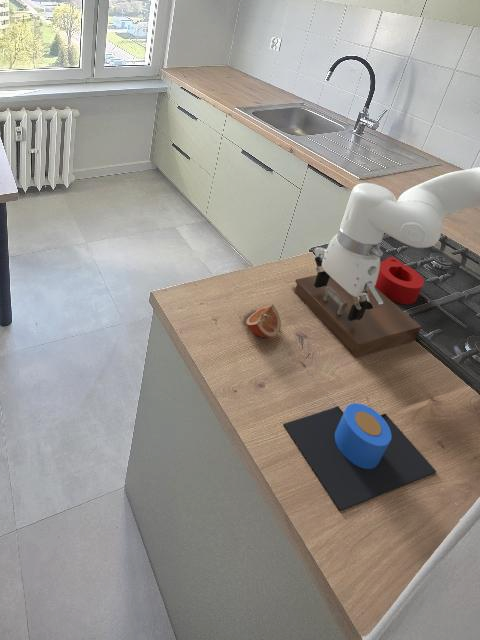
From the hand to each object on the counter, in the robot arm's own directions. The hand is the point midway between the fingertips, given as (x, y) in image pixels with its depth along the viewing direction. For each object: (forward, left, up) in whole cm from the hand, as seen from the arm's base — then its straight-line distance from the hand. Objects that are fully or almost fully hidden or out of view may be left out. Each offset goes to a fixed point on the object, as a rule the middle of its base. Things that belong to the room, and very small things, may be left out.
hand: (336, 301), depth 94 cm
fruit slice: (+16, -2, -7) cm, 18 cm away
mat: (+15, +23, -7) cm, 28 cm away
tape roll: (+16, +23, -7) cm, 28 cm away
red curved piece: (-27, -6, -7) cm, 28 cm away
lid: (-6, 0, -3) cm, 7 cm away
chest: (-7, 0, -7) cm, 9 cm away
